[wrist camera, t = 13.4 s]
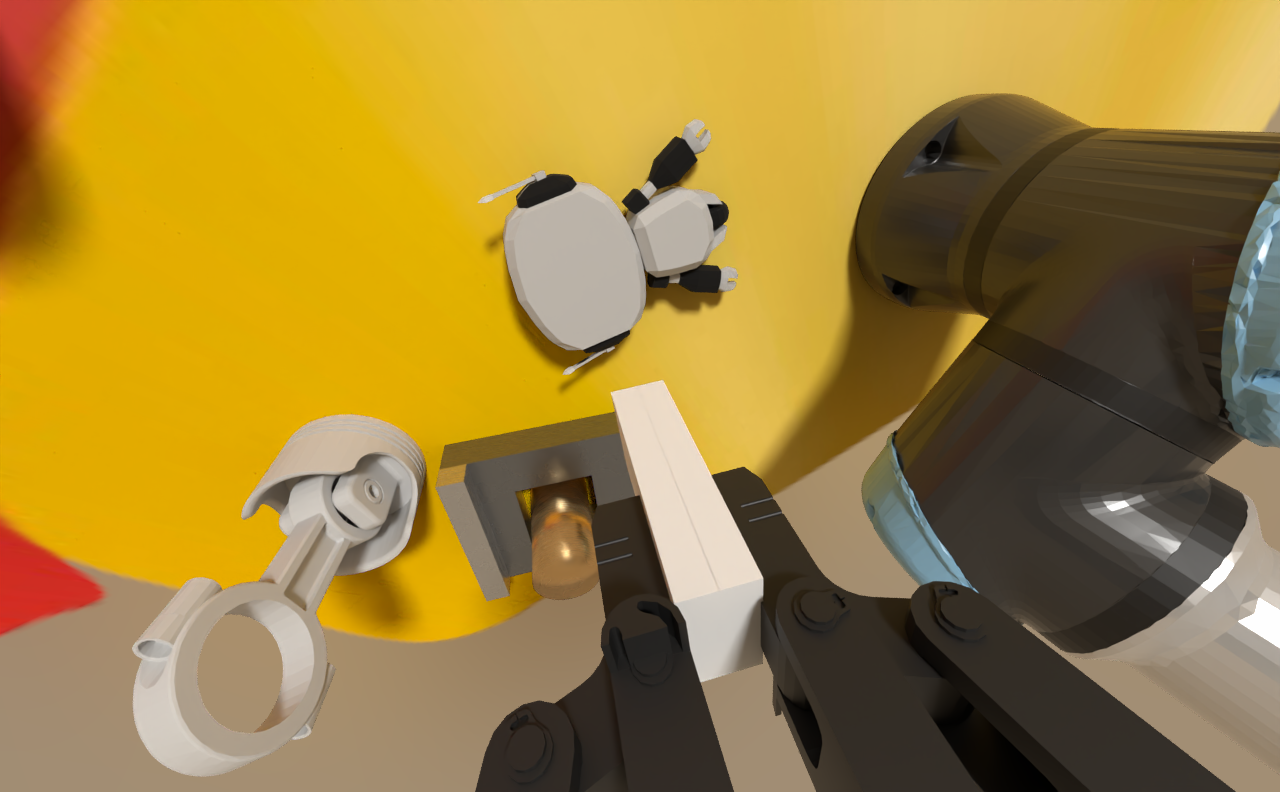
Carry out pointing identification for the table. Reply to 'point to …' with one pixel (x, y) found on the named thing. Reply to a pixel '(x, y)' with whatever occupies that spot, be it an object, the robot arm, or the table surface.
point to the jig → (523, 488)
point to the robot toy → (611, 248)
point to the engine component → (282, 589)
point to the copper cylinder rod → (562, 540)
